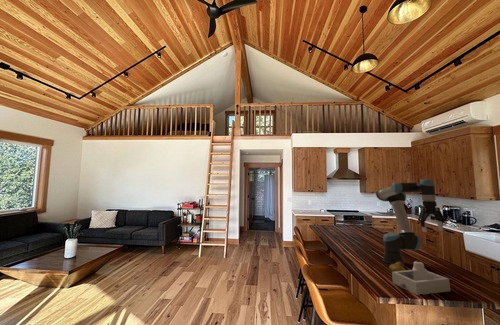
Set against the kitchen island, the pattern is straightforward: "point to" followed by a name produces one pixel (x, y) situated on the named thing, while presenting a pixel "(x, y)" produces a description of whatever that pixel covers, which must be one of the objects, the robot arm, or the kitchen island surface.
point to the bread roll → (397, 267)
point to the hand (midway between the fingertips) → (432, 231)
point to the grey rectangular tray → (421, 282)
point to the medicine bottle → (419, 271)
